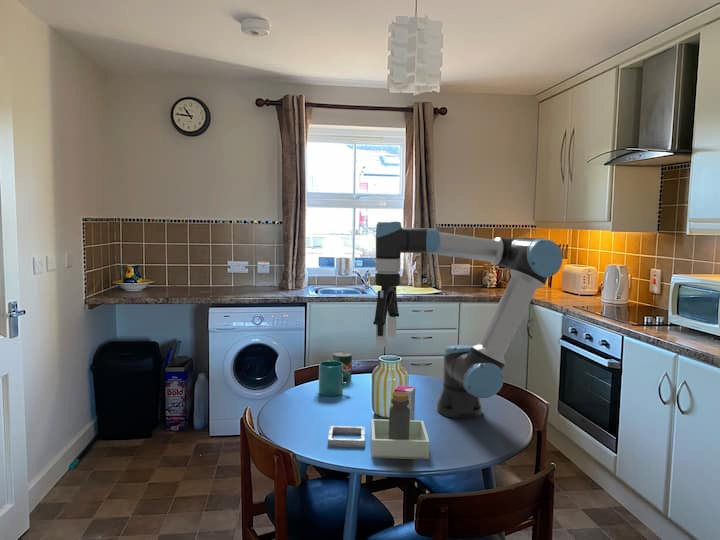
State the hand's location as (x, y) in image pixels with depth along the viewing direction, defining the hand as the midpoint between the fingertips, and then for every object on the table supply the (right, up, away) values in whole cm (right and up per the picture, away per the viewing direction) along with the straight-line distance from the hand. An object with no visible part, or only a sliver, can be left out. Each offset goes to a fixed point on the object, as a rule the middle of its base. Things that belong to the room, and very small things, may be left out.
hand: (386, 341), depth 162 cm
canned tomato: (-16, -23, +55) cm, 61 cm away
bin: (+3, -29, -9) cm, 31 cm away
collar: (-12, -28, -5) cm, 31 cm away
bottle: (+3, -29, -9) cm, 30 cm away
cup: (-18, -25, +38) cm, 48 cm away
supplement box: (+6, -28, +10) cm, 30 cm away
